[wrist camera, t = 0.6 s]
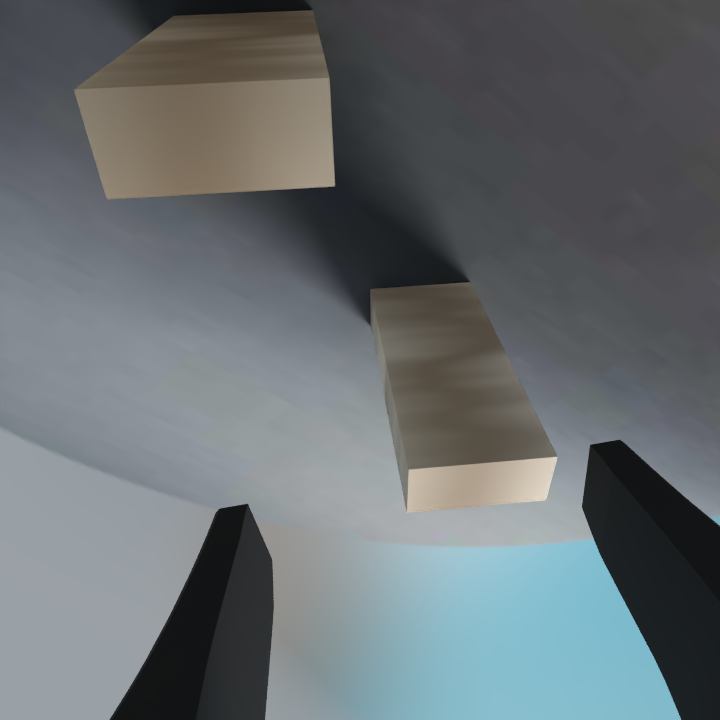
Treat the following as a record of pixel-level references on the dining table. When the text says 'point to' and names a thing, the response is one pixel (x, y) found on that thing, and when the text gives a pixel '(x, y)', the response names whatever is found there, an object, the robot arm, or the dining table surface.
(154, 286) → the dining table surface
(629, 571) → the robot arm
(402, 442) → the wooden block
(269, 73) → the beige wooden block
